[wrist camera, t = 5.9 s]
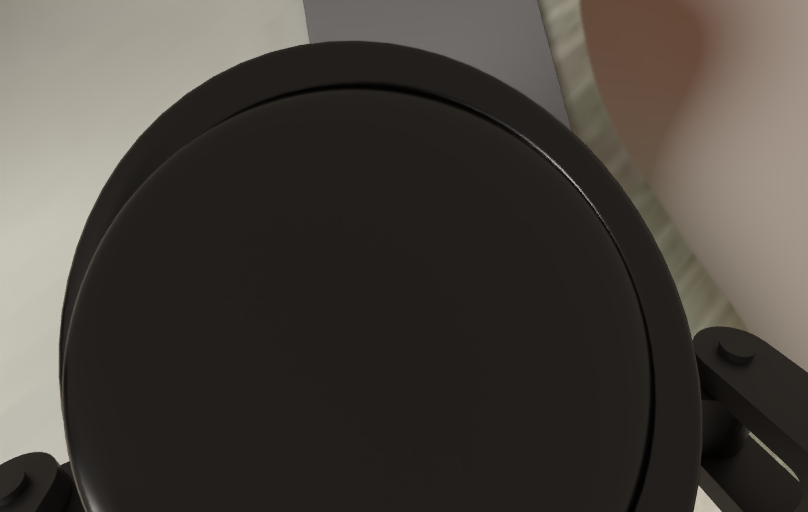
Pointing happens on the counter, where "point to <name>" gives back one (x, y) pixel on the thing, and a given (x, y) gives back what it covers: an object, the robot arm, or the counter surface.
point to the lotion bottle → (372, 305)
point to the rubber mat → (453, 36)
